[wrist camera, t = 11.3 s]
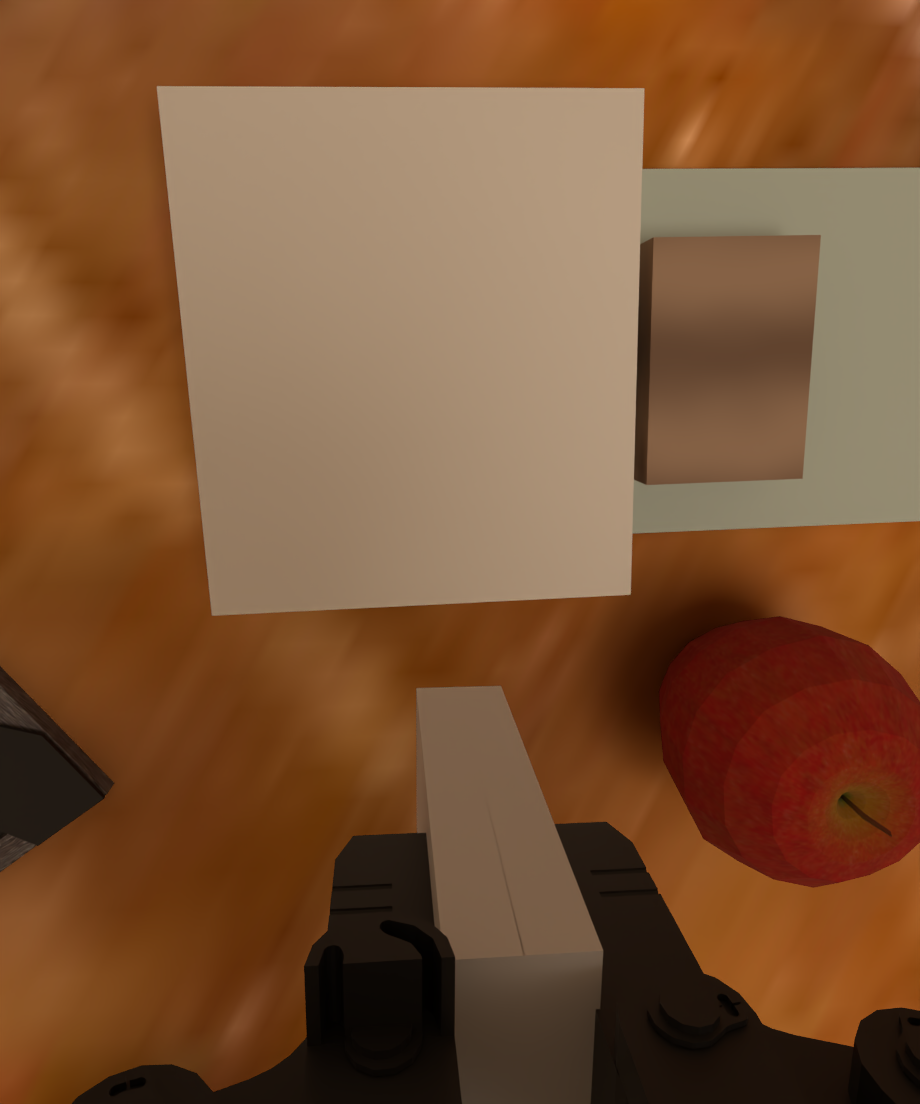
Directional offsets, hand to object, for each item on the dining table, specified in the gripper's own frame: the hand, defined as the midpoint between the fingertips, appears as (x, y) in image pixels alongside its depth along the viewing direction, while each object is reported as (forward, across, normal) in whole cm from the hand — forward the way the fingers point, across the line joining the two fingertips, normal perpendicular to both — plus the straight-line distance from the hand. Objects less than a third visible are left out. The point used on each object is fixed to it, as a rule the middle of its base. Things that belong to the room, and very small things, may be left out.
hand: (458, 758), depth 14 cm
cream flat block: (+23, 0, -8) cm, 24 cm away
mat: (+23, -17, -8) cm, 30 cm away
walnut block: (+22, -13, -8) cm, 27 cm away
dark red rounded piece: (+23, -16, +8) cm, 29 cm away
